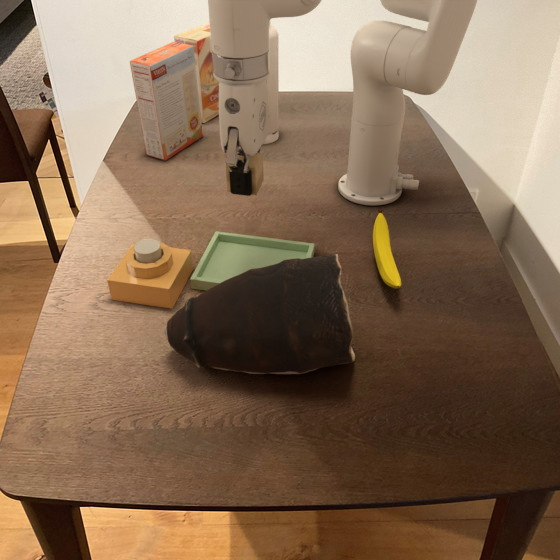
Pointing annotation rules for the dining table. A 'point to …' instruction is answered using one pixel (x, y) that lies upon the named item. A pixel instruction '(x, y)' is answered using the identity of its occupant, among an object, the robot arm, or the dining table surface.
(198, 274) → the tray
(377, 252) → the banana
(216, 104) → the coffeecake box
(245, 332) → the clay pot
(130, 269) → the button base
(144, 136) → the cracker box
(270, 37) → the bottle
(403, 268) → the dining table surface
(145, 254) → the grey button cap
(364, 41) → the robot arm
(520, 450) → the dining table surface
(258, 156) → the block
